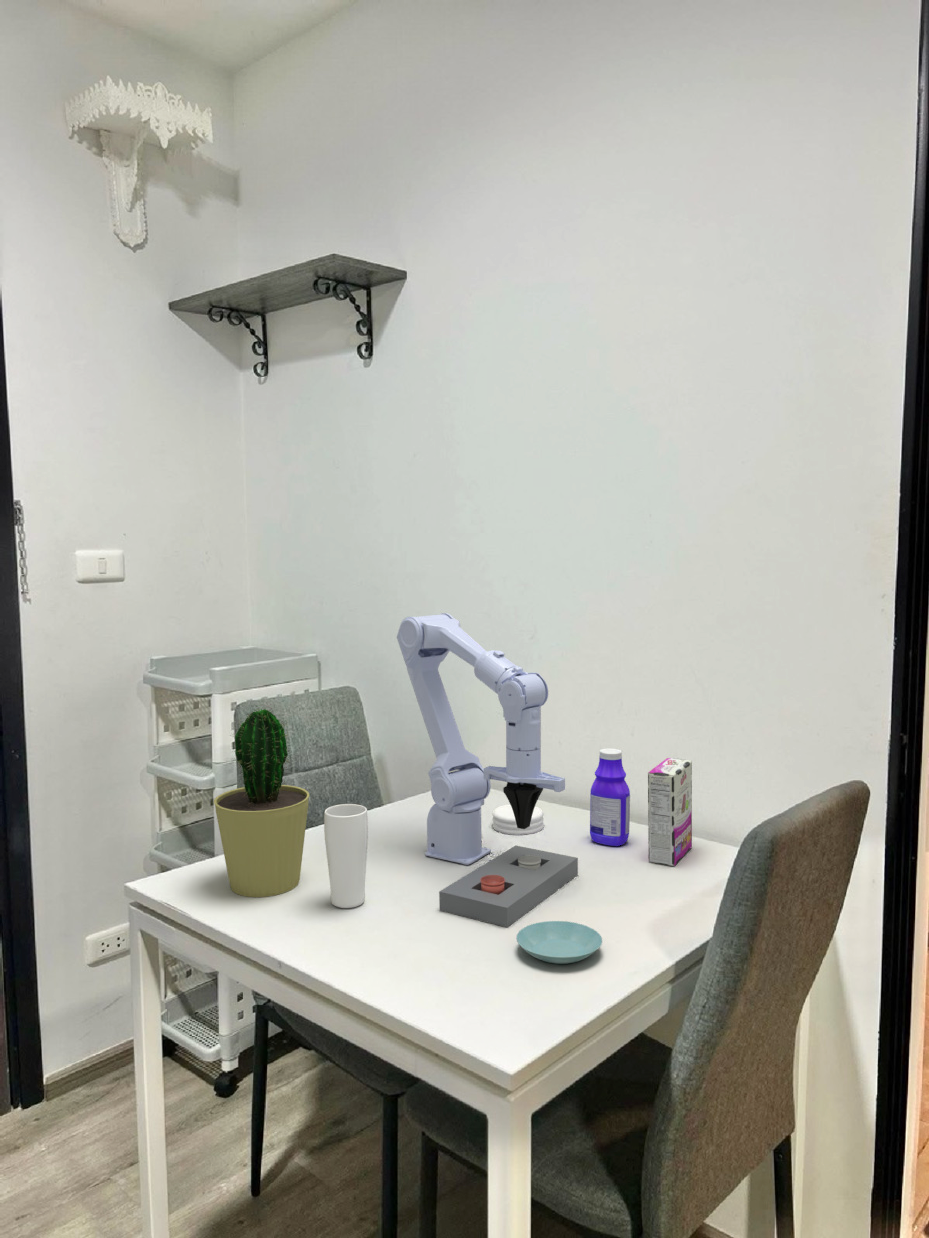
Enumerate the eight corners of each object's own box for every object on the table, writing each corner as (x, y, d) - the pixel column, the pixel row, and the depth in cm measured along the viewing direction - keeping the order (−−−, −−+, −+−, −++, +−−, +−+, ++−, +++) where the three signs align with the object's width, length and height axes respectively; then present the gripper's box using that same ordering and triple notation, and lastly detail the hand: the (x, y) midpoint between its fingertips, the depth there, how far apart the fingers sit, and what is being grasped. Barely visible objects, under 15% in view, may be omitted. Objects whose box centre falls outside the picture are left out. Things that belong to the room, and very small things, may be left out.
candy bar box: (665, 843, 170) (666, 756, 169) (692, 847, 168) (693, 759, 166) (646, 862, 161) (646, 770, 159) (674, 867, 158) (675, 774, 157)
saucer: (515, 934, 133) (515, 919, 133) (597, 934, 133) (597, 919, 133) (517, 973, 122) (517, 956, 122) (607, 973, 121) (607, 957, 121)
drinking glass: (376, 897, 147) (374, 805, 146) (358, 913, 141) (356, 818, 139) (338, 892, 149) (336, 801, 148) (318, 908, 143) (316, 814, 141)
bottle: (633, 840, 172) (634, 749, 170) (622, 849, 167) (622, 756, 166) (598, 834, 176) (598, 744, 174) (585, 842, 171) (585, 751, 169)
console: (507, 927, 135) (507, 907, 135) (439, 910, 142) (439, 891, 141) (577, 874, 155) (577, 857, 155) (515, 861, 162) (515, 845, 162)
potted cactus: (261, 861, 164) (256, 694, 161) (330, 876, 156) (325, 702, 153) (196, 890, 150) (189, 710, 147) (268, 909, 143) (262, 719, 140)
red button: (476, 897, 143) (475, 880, 143) (488, 889, 146) (488, 873, 146) (497, 902, 141) (497, 885, 140) (509, 894, 144) (509, 877, 144)
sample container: (514, 876, 153) (513, 860, 153) (524, 869, 156) (524, 853, 156) (534, 880, 151) (534, 864, 151) (544, 873, 154) (544, 857, 154)
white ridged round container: (517, 816, 188) (517, 799, 188) (553, 827, 181) (553, 810, 180) (482, 827, 181) (481, 810, 181) (518, 839, 174) (518, 821, 174)
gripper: (473, 746, 153) (474, 825, 154) (550, 757, 145) (550, 841, 146) (495, 738, 158) (496, 814, 160) (571, 748, 150) (570, 829, 152)
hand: (523, 826), depth 153 cm, fingers closed
